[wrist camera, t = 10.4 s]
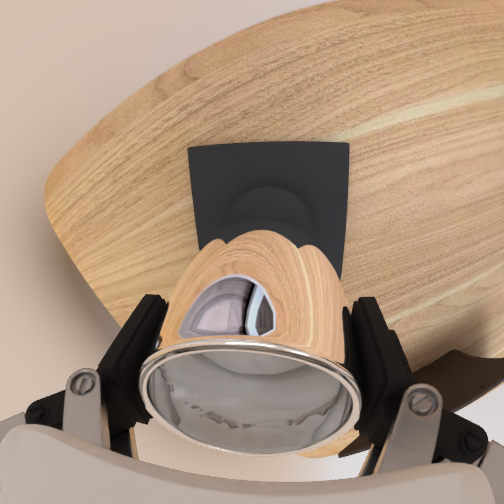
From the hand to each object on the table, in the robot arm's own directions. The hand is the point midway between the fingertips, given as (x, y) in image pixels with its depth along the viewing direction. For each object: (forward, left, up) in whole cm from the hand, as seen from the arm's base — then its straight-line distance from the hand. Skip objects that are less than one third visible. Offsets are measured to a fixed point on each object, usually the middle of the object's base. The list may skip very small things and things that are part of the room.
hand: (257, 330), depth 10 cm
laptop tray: (+24, +22, -13) cm, 35 cm away
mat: (0, 0, -13) cm, 13 cm away
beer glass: (0, 0, -11) cm, 11 cm away
